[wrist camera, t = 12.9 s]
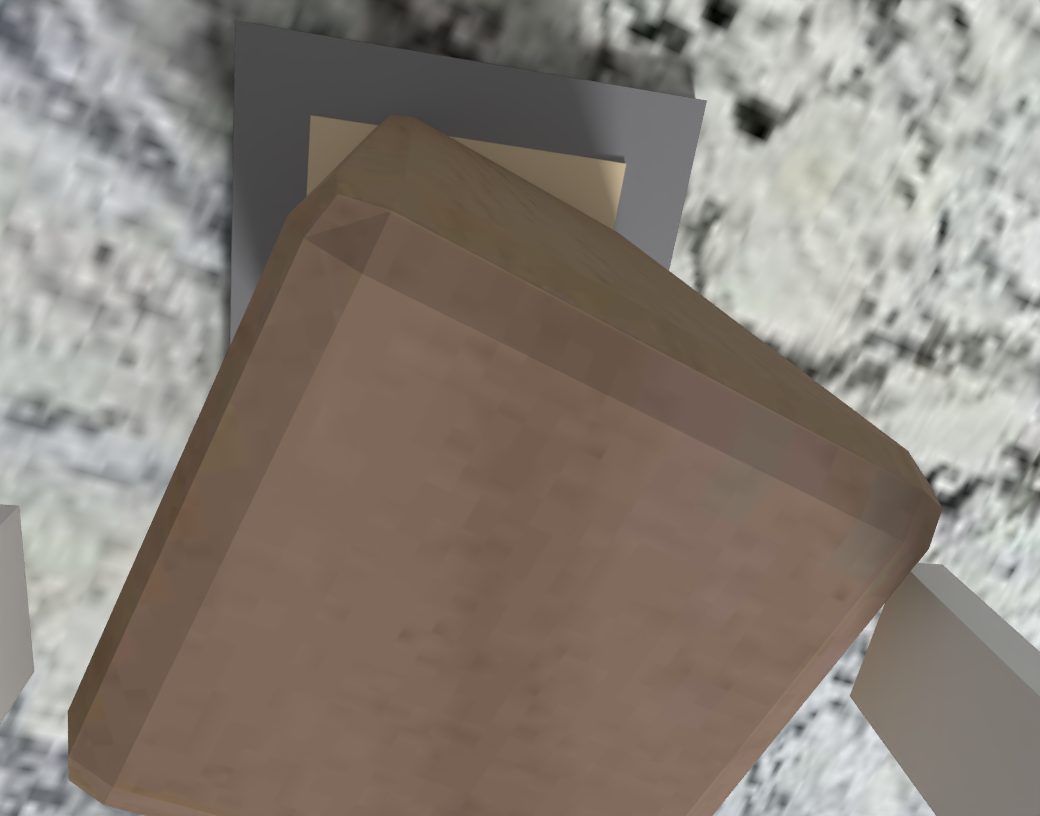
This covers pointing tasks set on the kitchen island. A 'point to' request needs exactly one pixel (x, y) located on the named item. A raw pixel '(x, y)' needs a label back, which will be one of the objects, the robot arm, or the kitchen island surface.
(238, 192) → the board
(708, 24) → the kitchen island surface
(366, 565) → the wooden block
